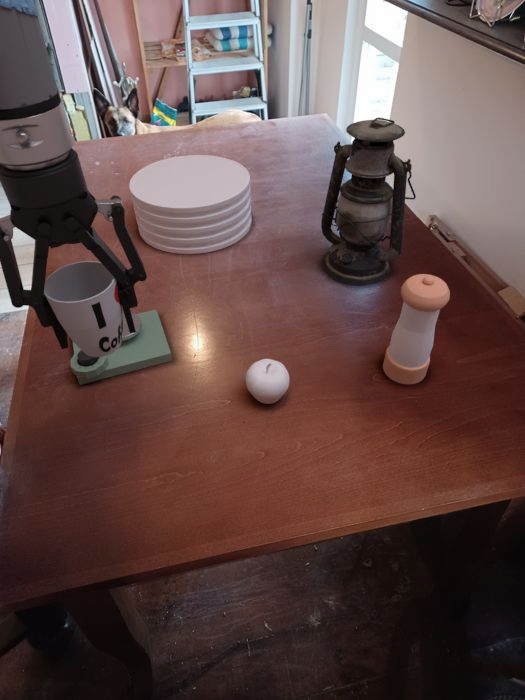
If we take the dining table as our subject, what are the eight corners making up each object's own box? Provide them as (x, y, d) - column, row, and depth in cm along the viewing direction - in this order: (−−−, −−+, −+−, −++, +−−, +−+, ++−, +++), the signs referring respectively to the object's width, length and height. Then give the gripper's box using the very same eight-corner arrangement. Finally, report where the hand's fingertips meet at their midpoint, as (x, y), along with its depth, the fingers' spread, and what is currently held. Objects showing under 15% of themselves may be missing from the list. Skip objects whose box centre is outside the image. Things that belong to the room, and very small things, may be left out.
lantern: (301, 266, 105) (308, 124, 84) (345, 230, 116) (360, 95, 95) (378, 297, 96) (407, 147, 76) (418, 255, 107) (452, 113, 86)
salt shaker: (388, 349, 86) (409, 259, 72) (429, 361, 83) (459, 270, 70) (377, 376, 81) (398, 285, 68) (420, 390, 79) (450, 298, 65)
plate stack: (122, 249, 111) (110, 203, 103) (159, 194, 131) (151, 152, 123) (239, 258, 108) (237, 211, 100) (259, 200, 127) (259, 157, 119)
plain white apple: (269, 419, 75) (269, 385, 69) (237, 395, 78) (235, 361, 73) (298, 393, 79) (300, 359, 73) (266, 372, 82) (266, 338, 77)
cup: (111, 372, 58) (88, 308, 51) (56, 357, 60) (27, 294, 53) (144, 330, 64) (128, 267, 57) (93, 317, 66) (71, 255, 59)
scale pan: (77, 351, 82) (76, 348, 81) (74, 321, 87) (72, 318, 87) (145, 335, 84) (144, 331, 84) (137, 306, 90) (136, 303, 90)
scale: (77, 389, 80) (71, 375, 78) (71, 337, 89) (65, 323, 87) (173, 364, 84) (170, 350, 81) (158, 316, 93) (155, 302, 91)
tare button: (80, 368, 79) (77, 362, 78) (78, 356, 81) (76, 350, 80) (98, 364, 80) (96, 357, 79) (96, 352, 82) (94, 345, 81)
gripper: (-94, 190, 40) (12, 374, 56) (150, 152, 45) (183, 333, 61) (-79, 156, 45) (14, 334, 61) (137, 126, 50) (171, 298, 66)
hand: (98, 333), depth 61 cm, fingers closed on cup, 8 cm apart
